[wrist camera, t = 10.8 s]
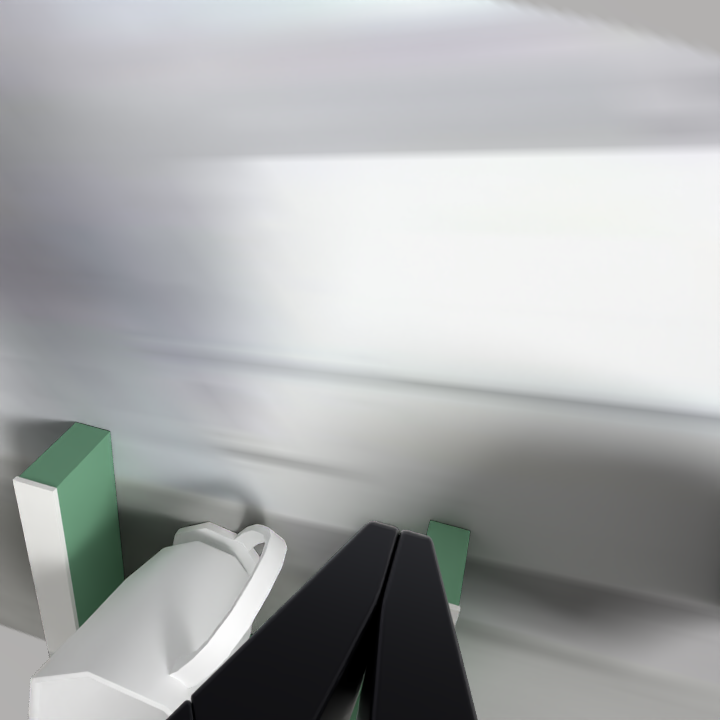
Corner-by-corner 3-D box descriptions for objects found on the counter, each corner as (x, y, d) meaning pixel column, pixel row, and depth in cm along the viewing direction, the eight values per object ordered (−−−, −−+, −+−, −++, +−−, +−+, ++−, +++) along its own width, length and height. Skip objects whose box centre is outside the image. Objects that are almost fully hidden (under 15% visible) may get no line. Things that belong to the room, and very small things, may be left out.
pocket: (472, 530, 24) (460, 611, 21) (417, 708, 31) (402, 790, 28) (74, 420, 27) (12, 480, 24) (99, 606, 33) (52, 672, 30)
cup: (118, 545, 30) (-9, 712, 23) (236, 430, 25) (117, 603, 18) (238, 636, 31) (150, 820, 25) (375, 545, 26) (311, 747, 19)
